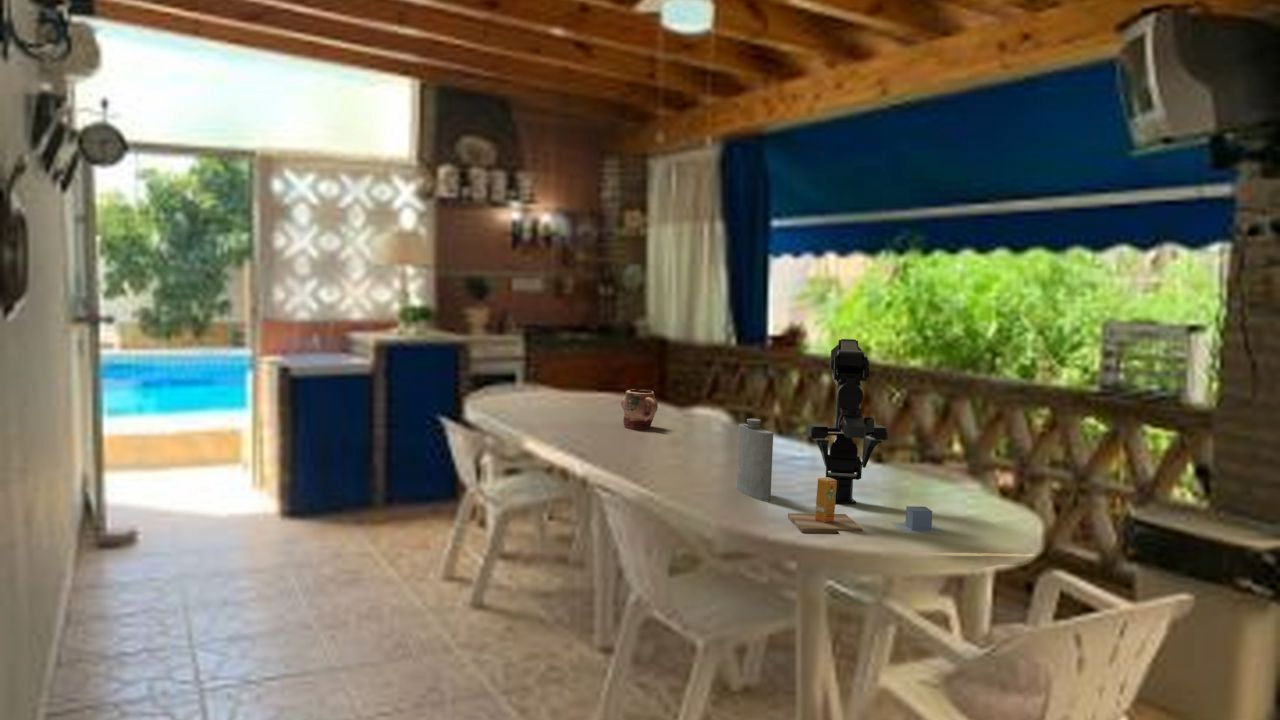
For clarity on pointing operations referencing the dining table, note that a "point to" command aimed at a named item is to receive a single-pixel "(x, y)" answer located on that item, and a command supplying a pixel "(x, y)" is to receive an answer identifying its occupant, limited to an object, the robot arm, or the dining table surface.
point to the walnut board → (810, 525)
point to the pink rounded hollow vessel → (639, 408)
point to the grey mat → (906, 530)
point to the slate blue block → (918, 518)
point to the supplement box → (825, 499)
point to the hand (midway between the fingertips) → (845, 467)
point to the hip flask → (754, 460)
